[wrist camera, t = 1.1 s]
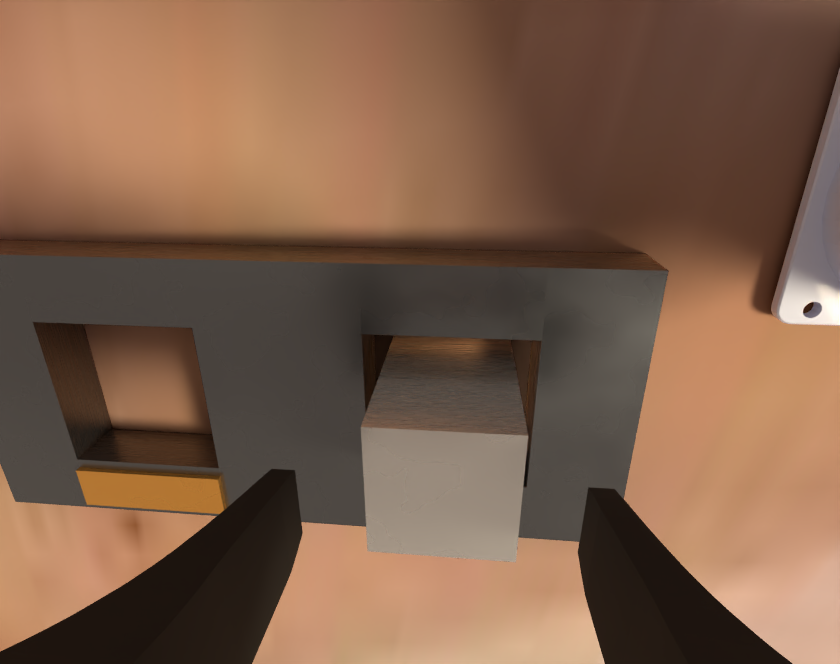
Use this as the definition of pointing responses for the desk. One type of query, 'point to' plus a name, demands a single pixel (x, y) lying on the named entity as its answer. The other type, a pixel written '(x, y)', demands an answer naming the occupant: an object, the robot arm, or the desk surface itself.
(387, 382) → the peg
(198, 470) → the grey board with holes
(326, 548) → the desk surface
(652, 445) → the desk surface
